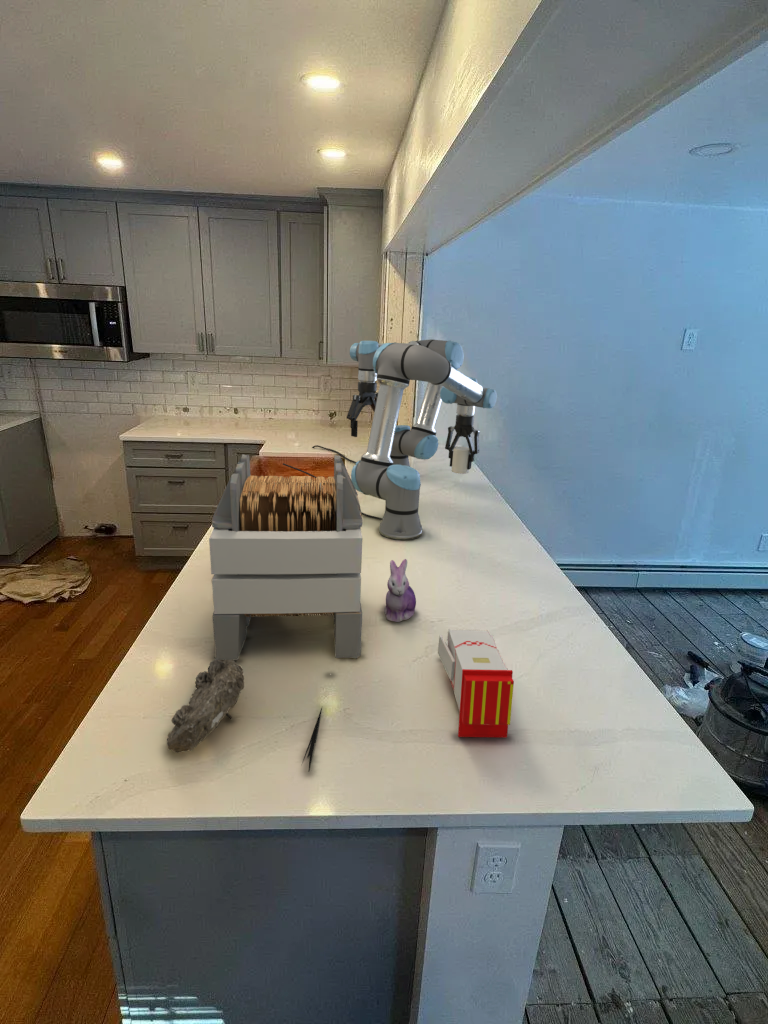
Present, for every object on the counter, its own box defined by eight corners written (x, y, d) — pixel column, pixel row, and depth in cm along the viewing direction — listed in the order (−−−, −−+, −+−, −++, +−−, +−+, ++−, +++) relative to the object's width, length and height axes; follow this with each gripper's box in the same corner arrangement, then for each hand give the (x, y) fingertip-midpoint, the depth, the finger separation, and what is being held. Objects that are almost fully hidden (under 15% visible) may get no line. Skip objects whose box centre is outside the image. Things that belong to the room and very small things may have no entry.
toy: (488, 613, 130) (523, 677, 101) (484, 667, 133) (517, 744, 104) (435, 612, 130) (455, 676, 101) (432, 666, 133) (451, 743, 103)
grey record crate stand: (234, 590, 156) (226, 444, 142) (353, 588, 159) (357, 447, 146) (212, 662, 124) (200, 485, 110) (361, 659, 128) (367, 486, 114)
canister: (463, 474, 242) (465, 451, 239) (448, 471, 246) (450, 448, 243) (471, 471, 248) (473, 448, 245) (456, 468, 252) (458, 445, 248)
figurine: (392, 627, 141) (395, 572, 136) (374, 608, 149) (376, 556, 144) (425, 619, 145) (429, 566, 140) (405, 601, 154) (408, 550, 149)
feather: (331, 679, 122) (336, 673, 122) (307, 777, 96) (313, 769, 95) (324, 675, 122) (329, 669, 121) (298, 772, 95) (304, 764, 95)
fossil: (192, 660, 117) (244, 628, 112) (224, 691, 120) (276, 661, 115) (142, 746, 98) (202, 712, 93) (182, 779, 101) (242, 748, 96)
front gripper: (491, 416, 238) (485, 469, 245) (446, 410, 246) (441, 461, 254) (485, 419, 231) (479, 473, 239) (439, 413, 240) (435, 465, 248)
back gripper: (352, 384, 213) (350, 440, 220) (394, 380, 231) (392, 431, 238) (338, 382, 218) (337, 436, 225) (381, 378, 236) (379, 428, 243)
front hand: (460, 467), depth 246 cm, fingers closed on canister, 7 cm apart
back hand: (365, 434), depth 232 cm, fingers open, 13 cm apart
